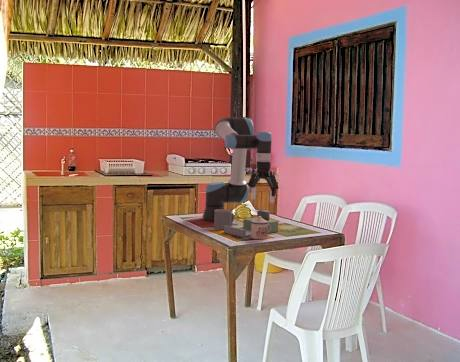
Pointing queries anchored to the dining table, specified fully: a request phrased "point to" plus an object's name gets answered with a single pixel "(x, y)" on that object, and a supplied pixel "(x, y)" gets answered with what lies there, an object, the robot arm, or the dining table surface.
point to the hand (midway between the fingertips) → (262, 201)
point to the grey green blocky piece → (247, 225)
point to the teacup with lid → (259, 228)
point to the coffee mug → (222, 218)
